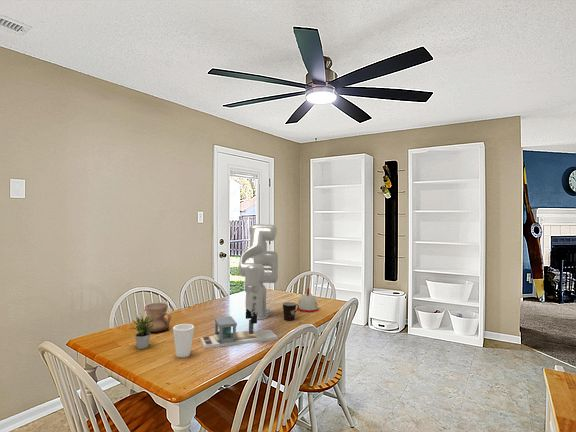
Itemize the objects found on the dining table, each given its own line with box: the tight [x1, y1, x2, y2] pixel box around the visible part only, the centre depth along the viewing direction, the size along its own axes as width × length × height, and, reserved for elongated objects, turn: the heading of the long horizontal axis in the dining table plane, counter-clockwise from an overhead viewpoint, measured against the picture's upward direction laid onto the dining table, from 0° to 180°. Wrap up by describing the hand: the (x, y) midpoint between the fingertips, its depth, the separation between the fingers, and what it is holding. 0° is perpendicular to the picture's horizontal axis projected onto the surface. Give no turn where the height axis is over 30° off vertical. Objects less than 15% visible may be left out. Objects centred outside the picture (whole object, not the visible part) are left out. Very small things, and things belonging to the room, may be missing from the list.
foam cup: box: [172, 323, 195, 358], centre depth 163 cm, size 10×9×13 cm
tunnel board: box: [200, 315, 279, 350], centre depth 184 cm, size 38×13×11 cm, turn 113°
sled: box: [213, 319, 257, 342], centre depth 183 cm, size 21×8×8 cm, turn 113°
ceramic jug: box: [143, 301, 172, 333], centre depth 196 cm, size 18×14×14 cm
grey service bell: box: [297, 287, 319, 314], centre depth 245 cm, size 14×14×15 cm
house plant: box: [128, 313, 158, 350], centre depth 170 cm, size 14×14×16 cm
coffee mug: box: [282, 301, 299, 322], centre depth 222 cm, size 12×9×10 cm
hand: (251, 320), depth 186 cm, fingers open, 9 cm apart
